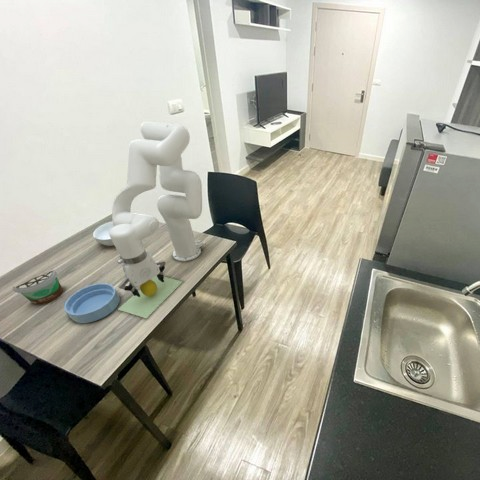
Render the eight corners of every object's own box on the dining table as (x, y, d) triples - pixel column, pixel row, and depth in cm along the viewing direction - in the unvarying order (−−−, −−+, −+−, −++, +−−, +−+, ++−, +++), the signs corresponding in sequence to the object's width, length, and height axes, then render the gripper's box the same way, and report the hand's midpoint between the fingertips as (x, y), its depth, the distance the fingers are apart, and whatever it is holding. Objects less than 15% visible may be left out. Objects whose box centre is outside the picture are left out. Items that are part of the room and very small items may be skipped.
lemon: (153, 301, 104) (146, 287, 99) (140, 298, 104) (133, 284, 100) (162, 291, 108) (157, 277, 103) (150, 288, 109) (144, 274, 104)
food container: (33, 312, 96) (16, 294, 90) (26, 305, 98) (10, 286, 93) (73, 292, 105) (60, 274, 99) (66, 285, 107) (53, 267, 101)
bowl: (113, 286, 109) (108, 277, 106) (125, 307, 101) (120, 298, 98) (66, 306, 99) (60, 297, 96) (76, 331, 92) (69, 322, 89)
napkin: (157, 275, 115) (156, 274, 115) (182, 282, 113) (182, 281, 113) (117, 309, 100) (117, 309, 100) (146, 318, 98) (146, 318, 97)
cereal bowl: (116, 228, 140) (111, 217, 136) (145, 233, 139) (141, 222, 134) (90, 248, 126) (83, 236, 122) (122, 253, 125) (116, 241, 121)
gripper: (113, 273, 87) (132, 306, 97) (163, 247, 99) (175, 279, 109) (102, 264, 90) (122, 297, 100) (152, 240, 101) (164, 271, 112)
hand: (149, 287), depth 105 cm, fingers open, 9 cm apart
